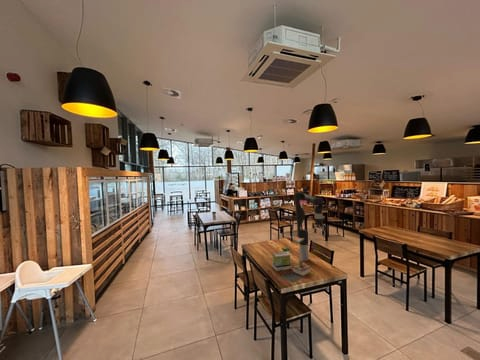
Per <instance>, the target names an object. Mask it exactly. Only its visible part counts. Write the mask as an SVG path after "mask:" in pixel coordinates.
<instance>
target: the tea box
mask: <svg viewBox="0 0 480 360" xmlns="http://www.w3.org/2000/svg"><path fill="white" fill-rule="evenodd" d="M272 268H273V269H274V270H275V271H276V272H278V271H285V270H290V269H291V255H290V254H289V253H288V252H287V251H284V252H283V251H282V252H273V253H272Z"/></svg>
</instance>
